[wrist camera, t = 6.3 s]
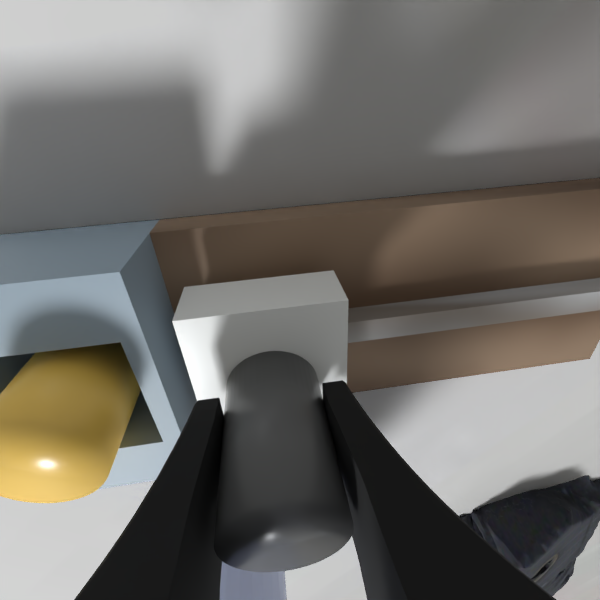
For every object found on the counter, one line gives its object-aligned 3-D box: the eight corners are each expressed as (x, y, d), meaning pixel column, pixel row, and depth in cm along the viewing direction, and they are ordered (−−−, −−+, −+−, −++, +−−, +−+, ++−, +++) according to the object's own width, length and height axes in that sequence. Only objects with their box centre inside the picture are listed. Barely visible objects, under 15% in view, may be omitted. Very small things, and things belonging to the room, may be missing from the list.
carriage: (329, 377, 15) (387, 576, 9) (220, 393, 15) (197, 613, 8) (327, 258, 12) (414, 431, 6) (188, 273, 12) (116, 477, 5)
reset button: (158, 392, 13) (127, 491, 10) (65, 405, 13) (1, 511, 10) (129, 320, 12) (79, 411, 8) (20, 333, 11) (-79, 432, 8)
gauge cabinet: (208, 390, 17) (196, 474, 13) (86, 407, 17) (37, 498, 13) (159, 219, 12) (119, 272, 9) (-12, 235, 12) (-135, 299, 8)
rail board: (566, 341, 19) (607, 371, 17) (208, 390, 17) (202, 431, 15) (642, 173, 14) (713, 186, 12) (159, 219, 12) (141, 243, 10)
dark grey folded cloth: (446, 598, 40) (469, 655, 36) (427, 514, 28) (457, 583, 24) (572, 561, 39) (610, 615, 35) (605, 459, 27) (667, 521, 23)
